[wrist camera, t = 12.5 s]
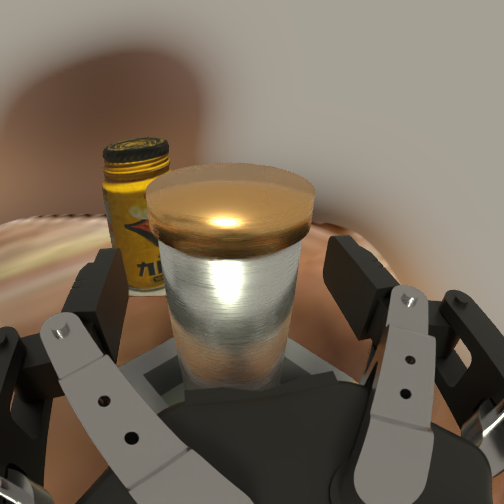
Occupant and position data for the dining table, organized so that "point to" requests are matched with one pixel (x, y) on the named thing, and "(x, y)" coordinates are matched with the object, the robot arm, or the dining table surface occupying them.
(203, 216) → the glass storage jar
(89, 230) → the dining table surface
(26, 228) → the dining table surface
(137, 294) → the condiment
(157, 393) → the dock
